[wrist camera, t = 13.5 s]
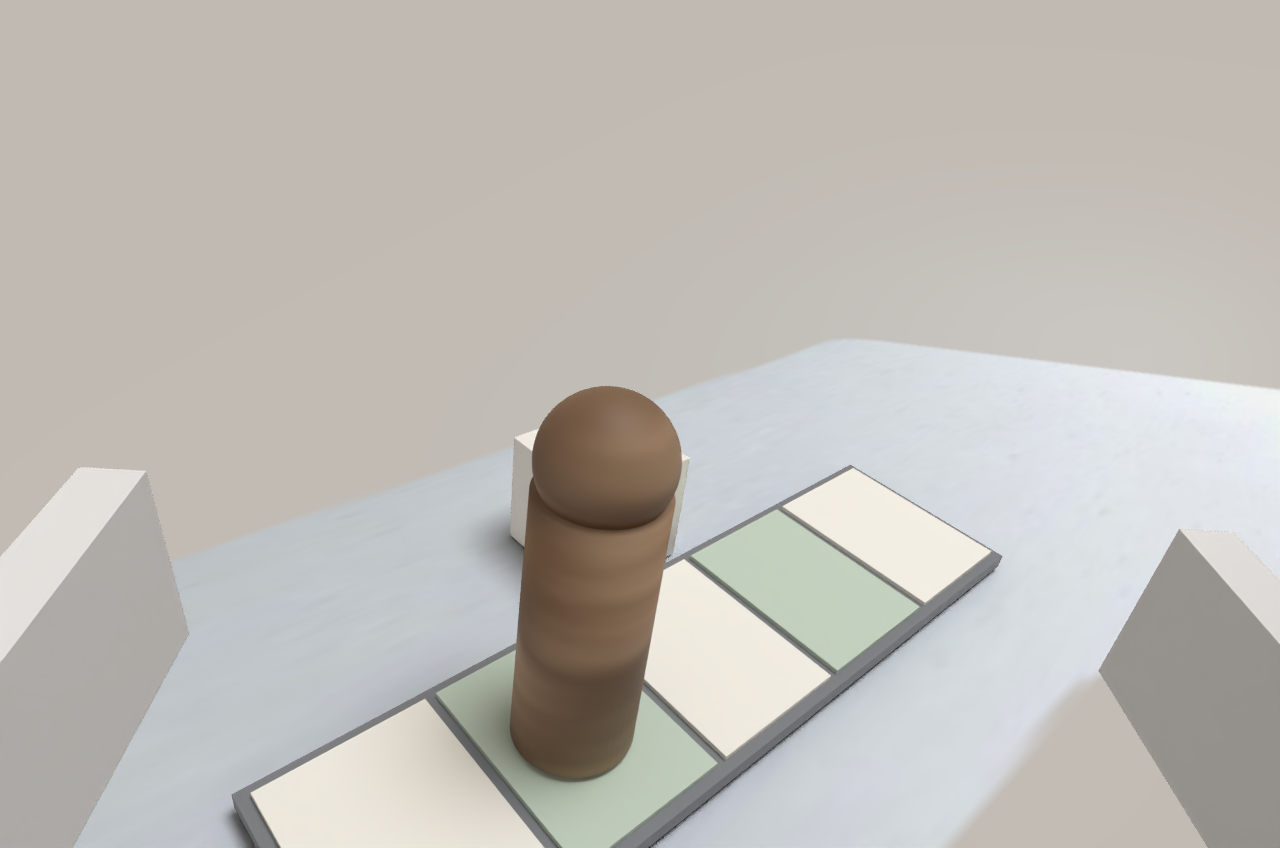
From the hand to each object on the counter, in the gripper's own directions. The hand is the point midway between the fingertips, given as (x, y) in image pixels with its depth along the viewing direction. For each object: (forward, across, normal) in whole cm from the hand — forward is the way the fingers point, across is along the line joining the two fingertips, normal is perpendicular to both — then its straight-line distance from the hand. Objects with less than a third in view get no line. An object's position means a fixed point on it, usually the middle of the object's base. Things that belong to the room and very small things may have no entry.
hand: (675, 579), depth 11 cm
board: (+13, +4, -16) cm, 22 cm away
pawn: (+10, -1, -15) cm, 18 cm away
